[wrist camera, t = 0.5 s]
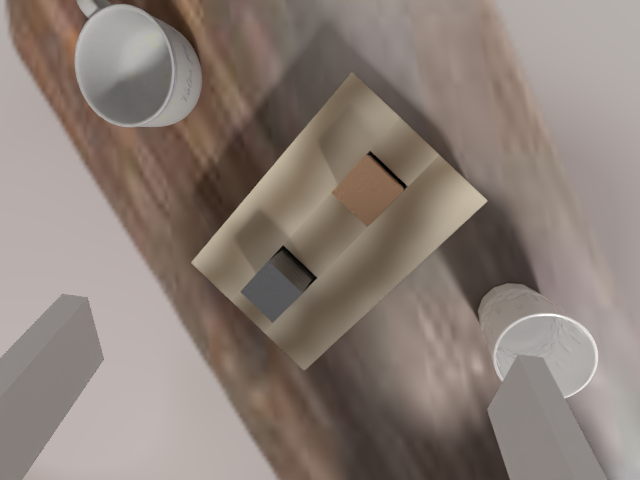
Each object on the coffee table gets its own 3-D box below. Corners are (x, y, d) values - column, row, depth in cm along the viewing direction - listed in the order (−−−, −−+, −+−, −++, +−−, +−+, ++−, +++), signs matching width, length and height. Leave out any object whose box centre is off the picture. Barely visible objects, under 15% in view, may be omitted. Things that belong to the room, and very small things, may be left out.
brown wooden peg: (402, 185, 36) (403, 190, 30) (372, 216, 37) (367, 227, 31) (371, 155, 36) (366, 154, 30) (341, 187, 37) (331, 192, 31)
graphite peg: (316, 273, 39) (302, 293, 34) (290, 299, 40) (272, 322, 35) (287, 245, 39) (268, 260, 34) (262, 272, 40) (240, 291, 35)
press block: (472, 194, 40) (487, 200, 33) (317, 340, 47) (304, 370, 40) (359, 86, 40) (352, 71, 34) (220, 247, 47) (191, 262, 40)
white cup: (486, 268, 41) (512, 300, 32) (563, 289, 40) (615, 330, 31) (462, 334, 43) (480, 383, 34) (535, 356, 42) (575, 414, 33)
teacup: (228, 110, 43) (191, 99, 36) (148, 146, 46) (99, 143, 38) (179, -17, 42) (129, -57, 34) (100, 28, 44) (37, 1, 37)
